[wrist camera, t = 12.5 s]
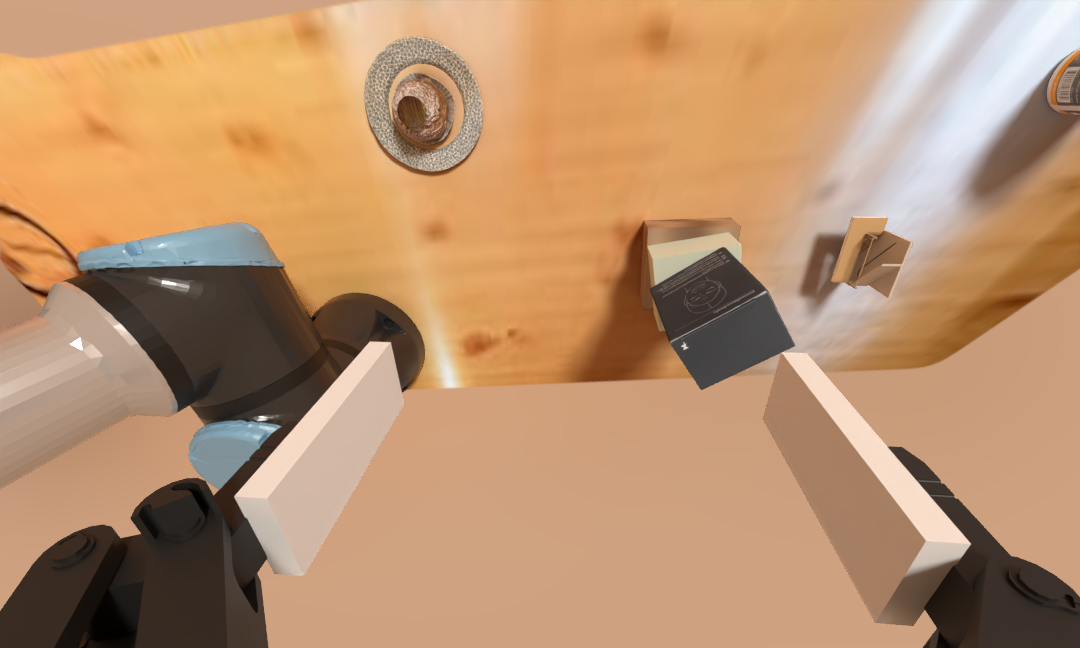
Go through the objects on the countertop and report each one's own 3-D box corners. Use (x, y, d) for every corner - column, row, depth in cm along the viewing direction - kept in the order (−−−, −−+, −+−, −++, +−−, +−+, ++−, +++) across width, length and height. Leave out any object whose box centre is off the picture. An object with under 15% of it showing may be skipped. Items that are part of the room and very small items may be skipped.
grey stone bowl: (349, 115, 44) (325, 117, 40) (409, 6, 39) (388, -5, 35) (442, 193, 47) (428, 202, 43) (508, 100, 42) (500, 101, 38)
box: (675, 329, 44) (700, 392, 34) (648, 287, 42) (667, 342, 32) (750, 290, 41) (799, 347, 32) (724, 243, 39) (768, 289, 30)
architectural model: (814, 271, 48) (851, 299, 41) (834, 208, 44) (877, 228, 38) (847, 271, 47) (889, 299, 41) (869, 208, 44) (918, 228, 37)
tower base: (639, 294, 51) (643, 309, 47) (643, 219, 47) (648, 229, 43) (717, 293, 50) (727, 308, 46) (728, 216, 46) (741, 226, 42)
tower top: (653, 314, 47) (659, 331, 44) (647, 246, 44) (652, 258, 40) (729, 303, 46) (741, 320, 43) (728, 232, 42) (741, 244, 39)
